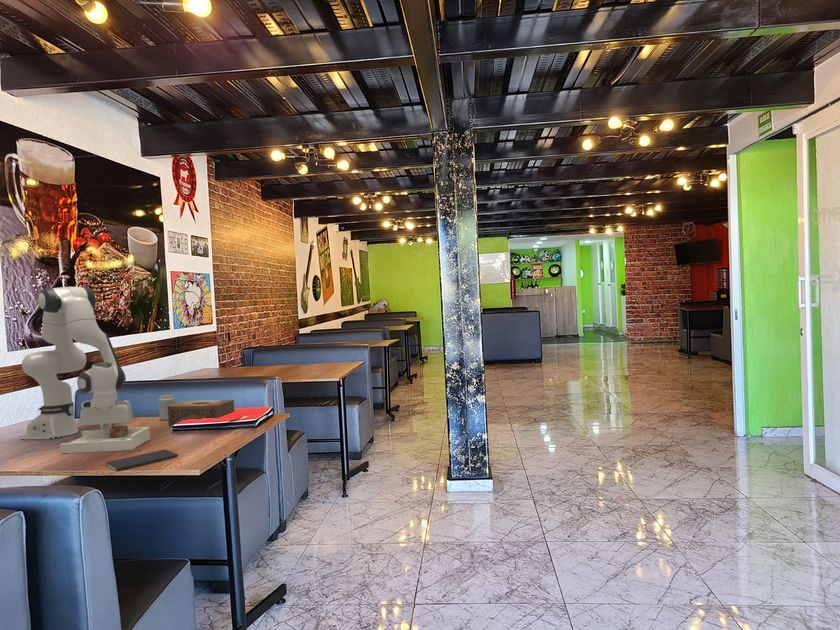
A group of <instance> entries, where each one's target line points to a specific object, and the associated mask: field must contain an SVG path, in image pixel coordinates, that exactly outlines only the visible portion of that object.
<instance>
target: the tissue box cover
mask: <svg viewBox="0 0 840 630" xmlns="http://www.w3.org/2000/svg"><path fill="white" fill-rule="evenodd" d="M232 412H234V413H235V399H203V400H202V399H201V400H200V399H194V400H193V399H192V400H191V399H188V400H187V399H186V400H183V401H180V402H177V403H176V402H175V404H173V405H170V406H168V420H167V421H168V427H169V428H172V427H171V426H172V425H174V424H176V423H178V422H180V421H182V420H187V419H203V418H219V417H222V416H224V415H227V414H229V413H232Z"/></svg>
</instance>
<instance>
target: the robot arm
mask: <svg viewBox="0 0 840 630" xmlns="http://www.w3.org/2000/svg"><path fill="white" fill-rule="evenodd" d="M37 303H38V304H37V305H38V306H39V309H41V311H43V314H42V329H41V336H42V338H43V340H44V341H45V342H46V343H48V344H52V345H54V346H55V349H53V350H41V351H40V350H39V351H36V352H31V353H29V354H26V355H24V356H23V359H22V361H21V368H22V371H23V373H24V374H26V375H27V376H29V377H31V378H33V379H34V380H35V381H36V382H37V383H38V385H39V387H40V389H41V392H42V393H41V394H42V398H43V405H42V406H41V407H38V410H37V411H40V413H39V415H37V416H36V417H35V418H34V419H33V420H31V421H30V422H29V423H28V424H27V426H26V433H25V434H23V435H21V436H20V440H22V439H24V440H51V439H50V438H52V439H56V438H55V437H57V438H62V437H67V436H71V435H75V434H77V433H79V429H78V427H77V424H76V419H75V415H74V414H75V405H74V401H73V393H72V392H73V391H72V386H71V385H70V384H69V383H68V382H65V381H62V380H59V378H58V377H57V374H58V375H59V374H66V373H72V372H76V371H79V370H81V369H84V367H85V366H86V364H87V355H86V353H85V352H84V351H83V350H82V349H80V348H79V347H77V346H76V345H75V343H74V341H76V343H80V344H83V345H87V346H91V347H93V348H96V349H97V350H98V351H99V352H100V355H101V357H102V360H103V361H99V362H96V363H93V364H92V365H91V368H89V369H88V370H85V371H82V372H81V373H80V374H79V375H78V377H77V388H78V390H80V391H81V392H82V393H84V394H92V398H91V399H89V400H86V401H84V402H81V403H80V408H81V410H80V413H79V419H80V420H79V422H80V424H81V425H82V426H92V425H93V426H94V425H99V427H100V430H103V434H104V435H108V434H110V431H109V430H107V429H110V428H112V427H115V426H116V425H115V424H126V423H127V424H128V423H130V422H132V420H133V419H134V417H133V411H132V402H130V401H128V400H124V399H123V400H119V399H118V391H119V390H121V388H122V387H123V386H124V385H125V382H126V374H125V372H124V371H125V370H124V369H123V368H122V366H121V364H120V362H119V360H118V357H117V355H116V351H115V349H114V347H113V345H112V343H111V340H110V337H109V335H108V334H107V333H106V332H104V331H102V330H101V328H100V327H99V324H98V322H97V319H96V315H95V311H94V309H93V307H94V306H95V304H96V293H95V292H94V290H93V289H92V288H90V287H87V286H65V287H64V286H63V287H62V286H61V287H54V288H52V287H48V288H44V289H41V291H40V292H39V293H38V296H37ZM73 340H74V341H73ZM107 425H108V427H109V428H107V427H106V426H107ZM61 436H62V437H61Z"/></svg>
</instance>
